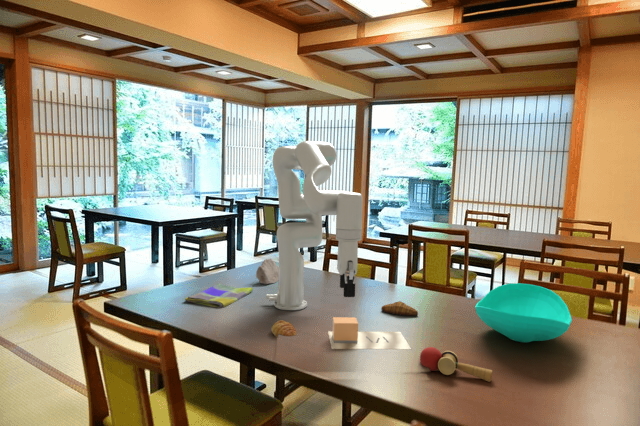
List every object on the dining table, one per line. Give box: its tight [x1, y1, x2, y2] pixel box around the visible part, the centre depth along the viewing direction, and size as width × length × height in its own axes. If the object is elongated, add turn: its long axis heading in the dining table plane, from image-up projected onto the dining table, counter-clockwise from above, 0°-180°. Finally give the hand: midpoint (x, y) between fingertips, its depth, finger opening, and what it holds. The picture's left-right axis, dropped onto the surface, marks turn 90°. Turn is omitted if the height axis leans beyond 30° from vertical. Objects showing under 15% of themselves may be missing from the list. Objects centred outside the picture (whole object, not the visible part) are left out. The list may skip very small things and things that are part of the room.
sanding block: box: [332, 316, 359, 343], centre depth 129 cm, size 7×5×6 cm
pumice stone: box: [255, 258, 279, 285], centre depth 197 cm, size 15×8×10 cm, turn 147°
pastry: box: [271, 319, 297, 338], centre depth 135 cm, size 9×7×4 cm
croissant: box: [381, 300, 419, 317], centre depth 158 cm, size 14×7×5 cm, turn 70°
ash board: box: [327, 330, 412, 350], centre depth 130 cm, size 23×13×2 cm, turn 93°
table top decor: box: [474, 282, 573, 343], centre depth 138 cm, size 40×28×13 cm
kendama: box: [419, 346, 493, 383], centre depth 113 cm, size 8×6×18 cm
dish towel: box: [184, 283, 253, 309], centre depth 172 cm, size 18×24×3 cm
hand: (347, 292), depth 127 cm, fingers open, 9 cm apart
